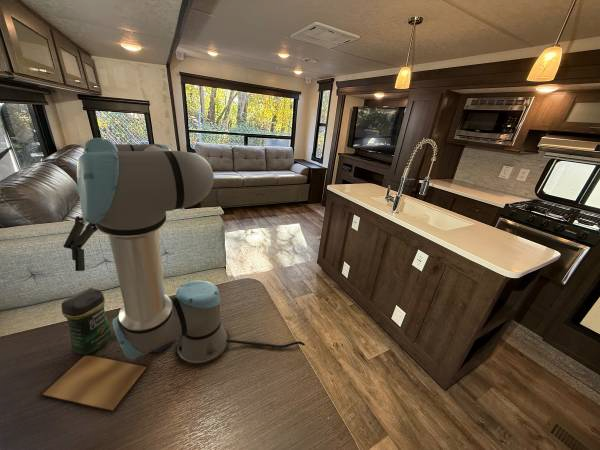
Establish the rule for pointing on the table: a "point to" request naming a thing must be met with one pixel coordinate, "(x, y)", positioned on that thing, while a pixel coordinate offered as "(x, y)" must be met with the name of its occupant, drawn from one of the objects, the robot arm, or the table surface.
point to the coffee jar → (87, 321)
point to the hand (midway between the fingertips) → (105, 267)
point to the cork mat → (96, 382)
